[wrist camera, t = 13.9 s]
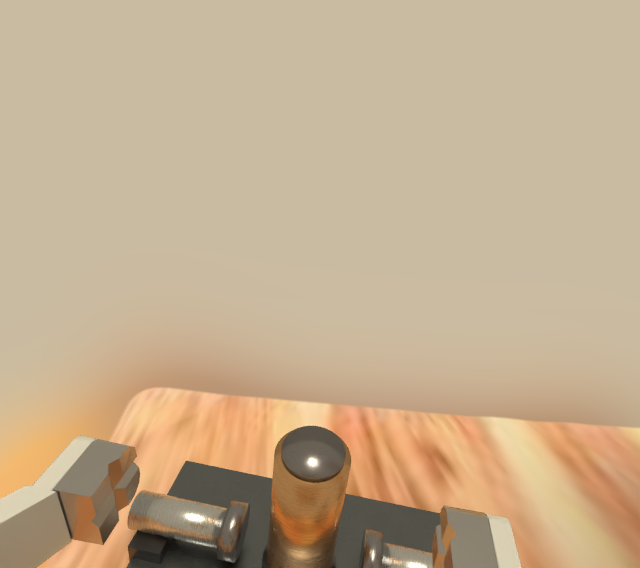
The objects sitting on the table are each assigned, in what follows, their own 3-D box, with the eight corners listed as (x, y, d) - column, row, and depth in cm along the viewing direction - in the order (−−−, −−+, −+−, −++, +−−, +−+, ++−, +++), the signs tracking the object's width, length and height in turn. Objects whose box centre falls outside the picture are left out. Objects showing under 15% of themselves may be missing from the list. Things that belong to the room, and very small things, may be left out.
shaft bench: (455, 520, 37) (469, 481, 35) (486, 744, 24) (512, 704, 22) (181, 463, 39) (178, 423, 37) (81, 639, 27) (69, 594, 25)
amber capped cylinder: (303, 519, 35) (318, 407, 30) (349, 574, 31) (374, 457, 26) (247, 560, 32) (252, 441, 26) (291, 626, 28) (307, 504, 23)
